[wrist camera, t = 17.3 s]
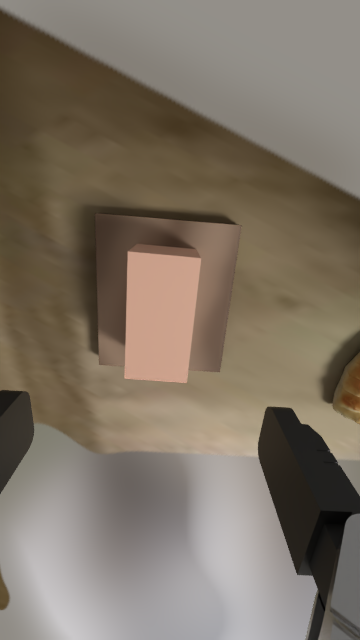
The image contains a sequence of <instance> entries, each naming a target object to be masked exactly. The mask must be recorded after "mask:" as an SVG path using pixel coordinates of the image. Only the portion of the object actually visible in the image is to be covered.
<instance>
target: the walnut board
mask: <svg viewBox="0 0 360 640" xmlns="http://www.w3.org/2000/svg"><path fill="white" fill-rule="evenodd" d="M241 226H242V225H235V224H223V223H211V222H199V221H187V220H175V219H163V218H151V217H138V216H126V215H114V214H102V213H95V235H96V271H97V307H98V343H99V365H110V366H125V342H126V302H127V262H128V251H129V250H130V249H131V248H133V247H134V246H135V245H136V244H145V245H156V246H167V247H178V248H189V249H196V250H197V251H198V253H199V255H200V257H201V266H200V274H199V283H198V291H197V300H196V308H195V317H194V325H193V334H192V342H191V351H190V359H189V368H188V370H192V371H209V372H220V367H221V361H222V354H223V347H224V340H225V334H226V327H227V320H228V313H229V307H230V300H231V293H232V287H233V280H234V273H235V266H236V260H237V253H238V246H239V239H240V233H241Z"/></svg>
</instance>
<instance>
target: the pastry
mask: <svg viewBox="0 0 360 640" xmlns="http://www.w3.org/2000/svg"><path fill="white" fill-rule="evenodd" d="M333 409H334V410H335V411H336V412H337V413H339V414H341V415H343V416H344V417H346V418H348V419H351V420H353V421H355V422H356V423H358V424H360V352H359V353H358V354H357V355H356V356H355V357H354V358H353V359H352V361H351V362H349V363H348V364H347V365H346V366H345V368H344V373H343V374H342V376H341V378H340V381H339V383H338V385H337V387H336V390H335V393H334V398H333Z"/></svg>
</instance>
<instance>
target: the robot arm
mask: <svg viewBox="0 0 360 640" xmlns="http://www.w3.org/2000/svg"><path fill="white" fill-rule="evenodd" d="M33 436H34V424H33V417H32V410H31V402H30V396H29V394H28V392H26V391H9V390H2V391H0V494H1V492H2V490H3V489H4V487H5V486H6V484H7V482H8V481H9V479H10V478H11V476H12V475H13V473H14V471H15V470H16V468H17V467H18V465H19V463H20V462H21V460H22V459H23V457H24V456H25V454H26V453H27V451H28V449H29V448H30V445H31V443H32V440H33ZM258 455H259V460H260V464H261V466H262V469H263V472H264V476H265V479H266V482H267V485H268V488H269V491H270V494H271V497H272V500H273V503H274V506H275V509H276V512H277V515H278V518H279V521H280V524H281V527H282V530H283V533H284V536H285V539H286V542H287V545H288V548H289V551H290V554H291V557H292V561H293V563H294V567H295V570H296V573H297V575H311V576H313V577H314V580H315V583H316V585H317V588H318V590H317V593H316V595H315V600H314V604H313V608H312V613H311V617H310V621H309V625H308V630H307V635H306V639H305V640H360V496H359V494H358V493H357V491H356V490H355V488H354V487H353V485H352V484H351V482H350V480H349V479H348V477H347V476H346V474H345V473H344V471H343V470H342V468H341V467H340V466H339V465H338V462H337V460H336V459H335V457H334V456H333V454H332V453H330V449H329V448H328V446H327V445H326V443H325V442H324V440H323V438H322V437H321V436H320V435H319V434H318V433H317V432H316V431H314V430H313V429H312V428H311V427H310V426H309V425H306V424H301V423H300V421H299V419H298V418H297V416H296V414H295V413H294V411H293V410H292V409H291V408H284V407H267V408H266V411H265V415H264V419H263V424H262V428H261V433H260V437H259V442H258Z"/></svg>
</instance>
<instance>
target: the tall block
mask: <svg viewBox="0 0 360 640" xmlns="http://www.w3.org/2000/svg"><path fill="white" fill-rule="evenodd" d="M200 266H201V257H200V255H199V253H198V251H197V250H196V249H189V248H178V247H167V246H156V245H145V244H136V245H135V246H134V247H133V248H131V249H130V250H129V251H128V262H127V302H126V342H125V379H138V380H152V381H167V382H181V383H187V376H188V368H189V359H190V351H191V342H192V334H193V325H194V317H195V308H196V300H197V291H198V283H199V274H200Z"/></svg>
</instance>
